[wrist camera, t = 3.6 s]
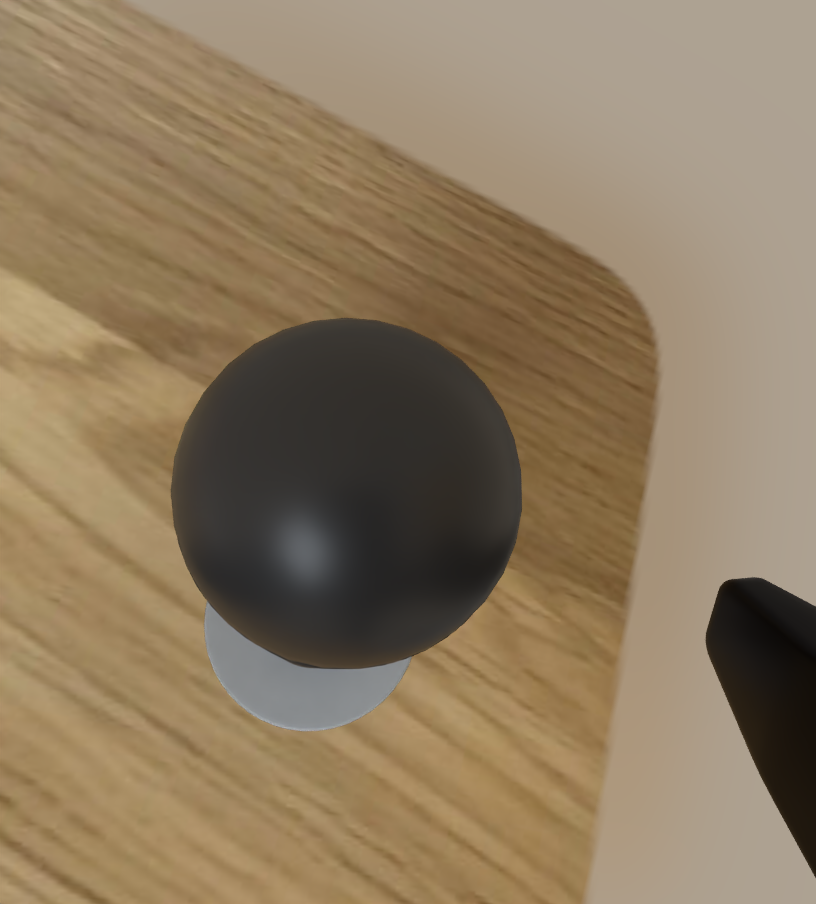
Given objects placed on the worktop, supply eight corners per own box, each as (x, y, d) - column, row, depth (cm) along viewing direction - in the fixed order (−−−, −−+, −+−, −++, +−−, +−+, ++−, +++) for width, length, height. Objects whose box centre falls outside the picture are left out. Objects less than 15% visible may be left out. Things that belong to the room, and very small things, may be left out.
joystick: (368, 748, 16) (718, 1160, 3) (187, 686, 16) (-417, 787, 2) (426, 568, 17) (871, 220, 4) (258, 509, 17) (106, -70, 4)
